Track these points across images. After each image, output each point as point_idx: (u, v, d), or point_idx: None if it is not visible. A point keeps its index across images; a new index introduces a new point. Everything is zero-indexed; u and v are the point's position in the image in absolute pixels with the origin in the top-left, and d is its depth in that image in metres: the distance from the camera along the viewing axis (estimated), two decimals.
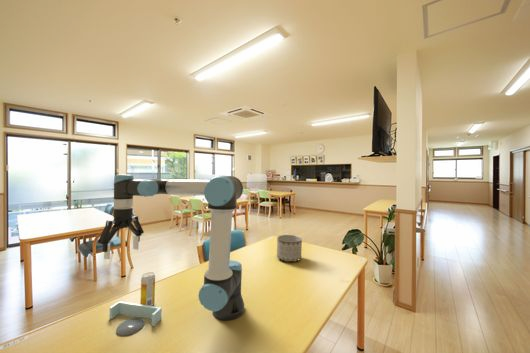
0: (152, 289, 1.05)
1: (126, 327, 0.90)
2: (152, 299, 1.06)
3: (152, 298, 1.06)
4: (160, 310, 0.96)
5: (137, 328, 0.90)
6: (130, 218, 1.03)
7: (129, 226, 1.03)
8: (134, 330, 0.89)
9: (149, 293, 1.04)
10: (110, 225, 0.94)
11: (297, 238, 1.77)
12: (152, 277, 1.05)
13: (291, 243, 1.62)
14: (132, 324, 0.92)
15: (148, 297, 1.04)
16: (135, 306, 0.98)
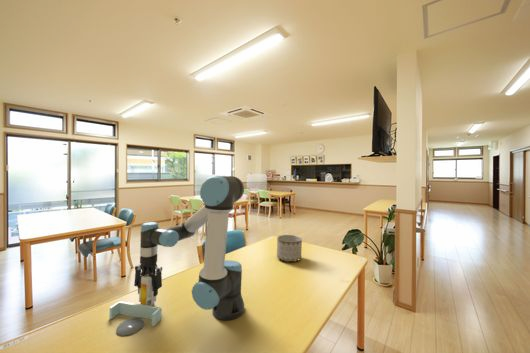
0: (152, 289, 1.05)
1: (126, 327, 0.90)
2: None
3: None
4: (160, 310, 0.96)
5: (137, 328, 0.90)
6: (152, 266, 1.05)
7: None
8: (134, 330, 0.89)
9: (149, 293, 1.04)
10: (136, 270, 1.06)
11: (297, 238, 1.77)
12: None
13: (291, 243, 1.62)
14: (132, 324, 0.92)
15: (148, 297, 1.04)
16: (135, 306, 0.98)
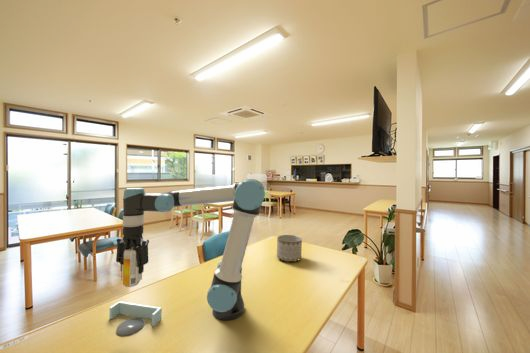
0: None
1: (126, 327, 0.90)
2: None
3: None
4: (160, 310, 0.96)
5: (137, 328, 0.90)
6: (137, 238, 0.89)
7: None
8: (134, 330, 0.89)
9: (133, 269, 0.89)
10: (118, 243, 0.91)
11: (297, 238, 1.77)
12: None
13: (291, 243, 1.62)
14: (132, 324, 0.92)
15: (132, 274, 0.89)
16: (135, 306, 0.98)
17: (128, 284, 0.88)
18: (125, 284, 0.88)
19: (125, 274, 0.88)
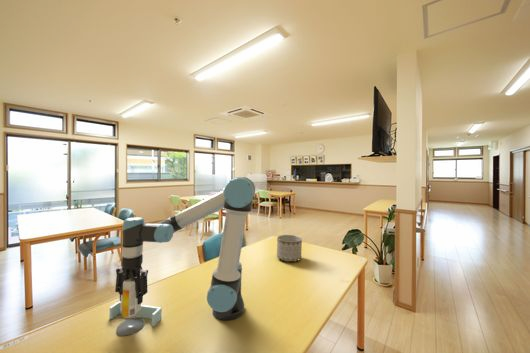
0: None
1: (126, 327, 0.90)
2: None
3: None
4: (160, 310, 0.96)
5: (137, 328, 0.90)
6: (136, 269, 0.89)
7: None
8: (134, 330, 0.89)
9: (132, 300, 0.89)
10: (117, 273, 0.91)
11: (297, 238, 1.77)
12: None
13: (291, 243, 1.62)
14: (132, 324, 0.92)
15: (131, 305, 0.89)
16: None
17: (127, 315, 0.88)
18: (124, 315, 0.88)
19: (124, 305, 0.88)
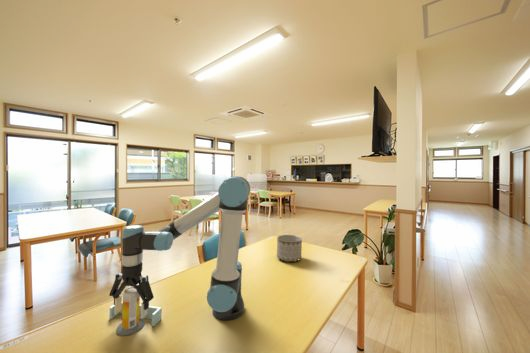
0: (136, 307, 0.90)
1: None
2: (136, 319, 0.90)
3: (136, 318, 0.90)
4: (160, 310, 0.96)
5: (137, 328, 0.90)
6: (135, 277, 0.89)
7: None
8: (134, 330, 0.89)
9: (132, 312, 0.89)
10: (116, 279, 0.91)
11: (297, 238, 1.77)
12: (136, 293, 0.90)
13: (291, 243, 1.62)
14: None
15: (131, 317, 0.89)
16: None
17: (127, 327, 0.88)
18: (124, 327, 0.88)
19: (124, 317, 0.88)
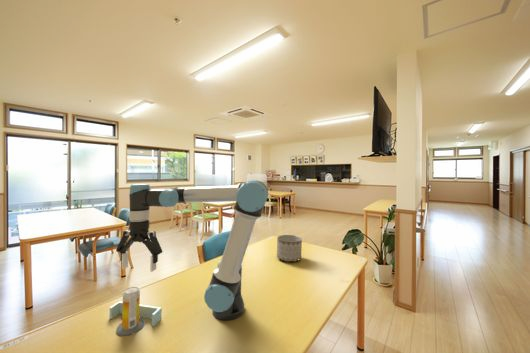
0: (136, 307, 0.90)
1: None
2: (136, 319, 0.90)
3: (136, 318, 0.90)
4: (160, 310, 0.96)
5: (137, 328, 0.90)
6: (143, 233, 0.92)
7: None
8: (134, 330, 0.89)
9: (132, 312, 0.89)
10: (123, 235, 0.93)
11: (297, 238, 1.77)
12: (136, 293, 0.90)
13: (291, 243, 1.62)
14: None
15: (131, 317, 0.89)
16: None
17: (127, 327, 0.88)
18: (124, 327, 0.88)
19: (124, 317, 0.88)
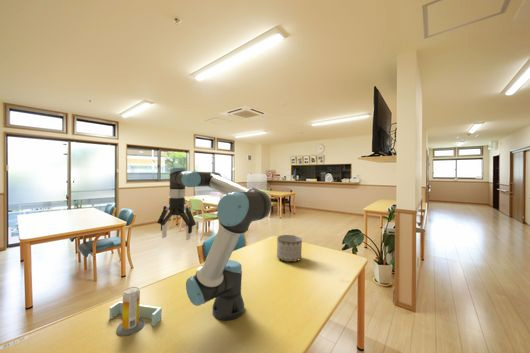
0: (136, 307, 0.90)
1: None
2: (136, 319, 0.90)
3: (136, 318, 0.90)
4: (160, 310, 0.96)
5: (137, 328, 0.90)
6: (180, 208, 1.10)
7: None
8: (134, 330, 0.89)
9: (132, 312, 0.89)
10: (164, 209, 1.11)
11: (297, 238, 1.77)
12: (136, 293, 0.90)
13: (291, 243, 1.62)
14: None
15: (131, 317, 0.89)
16: None
17: (127, 327, 0.88)
18: (124, 327, 0.88)
19: (124, 317, 0.88)
